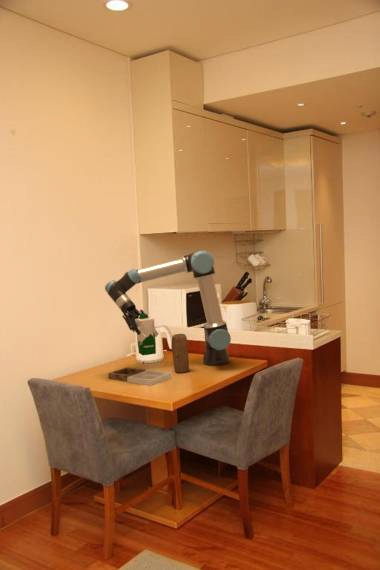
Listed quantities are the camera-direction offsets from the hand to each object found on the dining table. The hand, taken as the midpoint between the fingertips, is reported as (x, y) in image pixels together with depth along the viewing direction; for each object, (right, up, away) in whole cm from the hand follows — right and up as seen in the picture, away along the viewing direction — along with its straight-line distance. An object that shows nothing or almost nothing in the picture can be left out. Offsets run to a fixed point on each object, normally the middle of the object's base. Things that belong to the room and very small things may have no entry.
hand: (151, 336), depth 275 cm
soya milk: (-2, -9, +3) cm, 10 cm away
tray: (-1, -23, +4) cm, 23 cm away
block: (+15, -21, +19) cm, 32 cm away
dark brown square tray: (-13, -23, +13) cm, 29 cm away
